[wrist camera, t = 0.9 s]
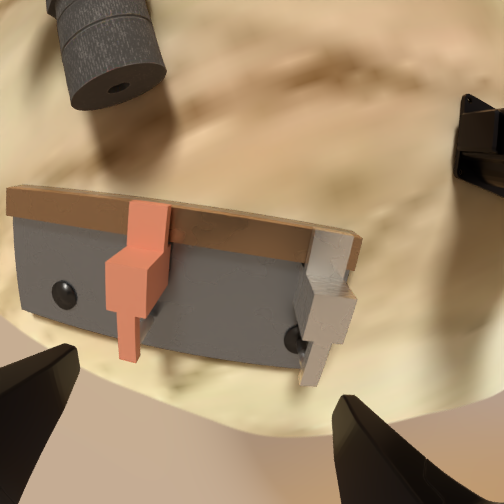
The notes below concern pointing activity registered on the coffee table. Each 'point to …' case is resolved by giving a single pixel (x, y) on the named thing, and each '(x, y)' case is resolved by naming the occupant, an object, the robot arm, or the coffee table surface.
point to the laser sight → (106, 50)
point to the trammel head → (138, 274)
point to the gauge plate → (192, 276)
